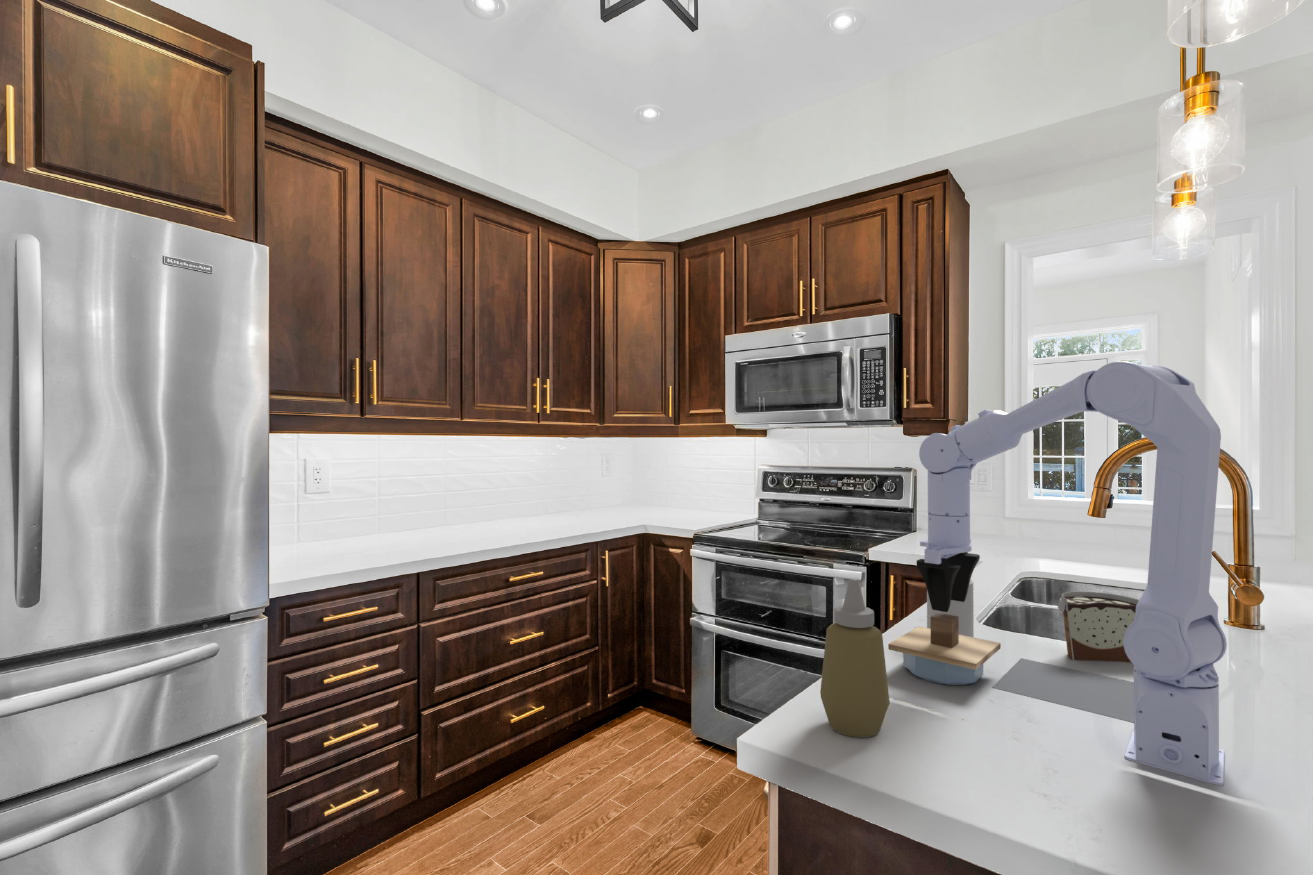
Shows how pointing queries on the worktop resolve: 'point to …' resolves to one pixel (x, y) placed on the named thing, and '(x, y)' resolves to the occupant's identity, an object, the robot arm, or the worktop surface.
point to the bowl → (941, 671)
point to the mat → (1071, 688)
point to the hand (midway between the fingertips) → (948, 605)
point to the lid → (945, 643)
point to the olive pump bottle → (854, 669)
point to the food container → (1096, 625)
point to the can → (958, 612)
